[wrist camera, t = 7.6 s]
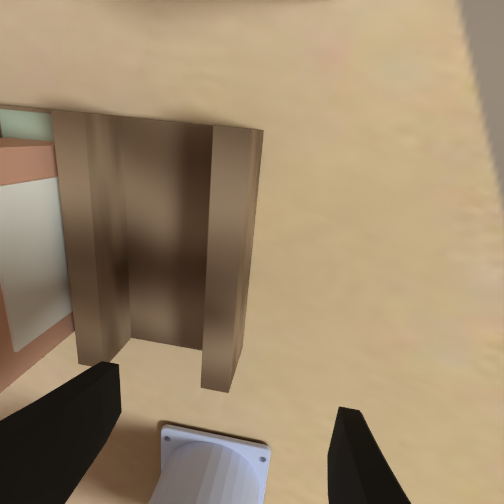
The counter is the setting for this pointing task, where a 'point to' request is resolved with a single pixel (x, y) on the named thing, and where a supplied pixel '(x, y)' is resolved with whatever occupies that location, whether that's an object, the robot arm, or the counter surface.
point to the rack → (153, 230)
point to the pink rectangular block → (31, 257)
